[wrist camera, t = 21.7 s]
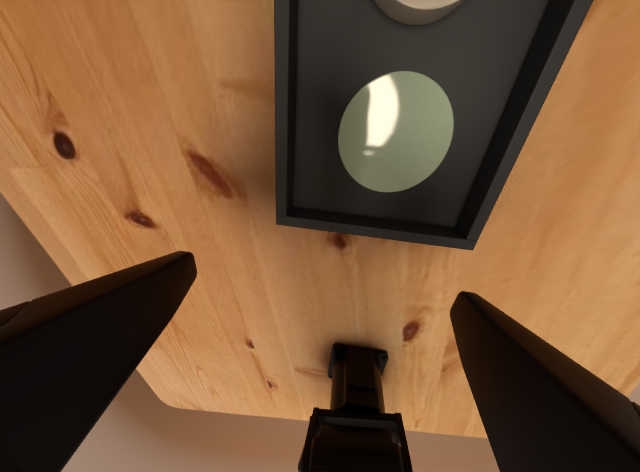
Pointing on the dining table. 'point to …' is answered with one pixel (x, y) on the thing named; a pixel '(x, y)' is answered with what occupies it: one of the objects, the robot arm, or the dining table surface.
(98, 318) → the robot arm
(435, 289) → the dining table surface
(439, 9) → the beige disc
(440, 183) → the tray
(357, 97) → the pale green disc
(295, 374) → the dining table surface
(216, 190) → the dining table surface
